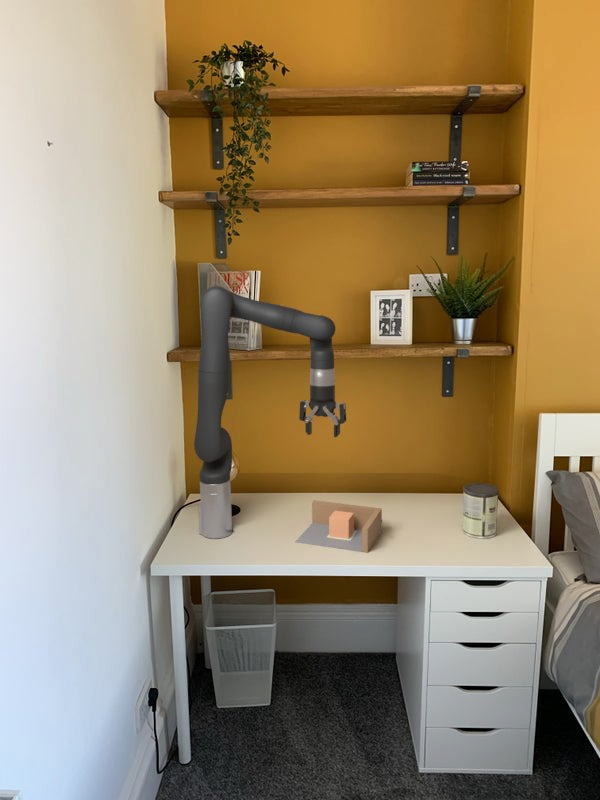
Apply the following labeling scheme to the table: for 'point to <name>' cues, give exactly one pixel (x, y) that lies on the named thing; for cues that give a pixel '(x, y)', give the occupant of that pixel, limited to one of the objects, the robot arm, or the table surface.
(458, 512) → the table surface
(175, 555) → the table surface
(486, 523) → the coffee can
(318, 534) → the arena
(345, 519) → the cube
